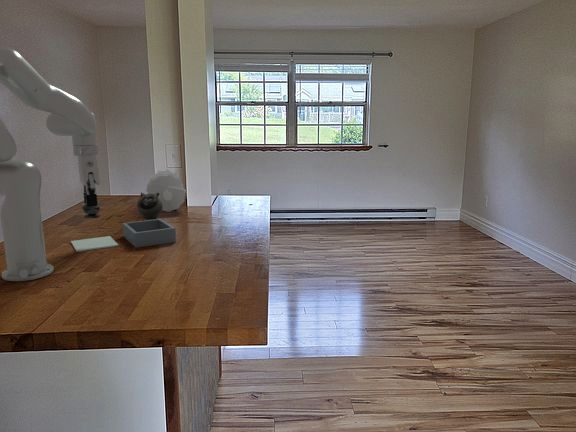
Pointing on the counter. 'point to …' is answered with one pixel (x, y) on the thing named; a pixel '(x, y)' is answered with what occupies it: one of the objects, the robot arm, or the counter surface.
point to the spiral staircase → (167, 189)
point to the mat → (93, 243)
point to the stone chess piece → (91, 209)
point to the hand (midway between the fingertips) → (91, 204)
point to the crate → (149, 232)
